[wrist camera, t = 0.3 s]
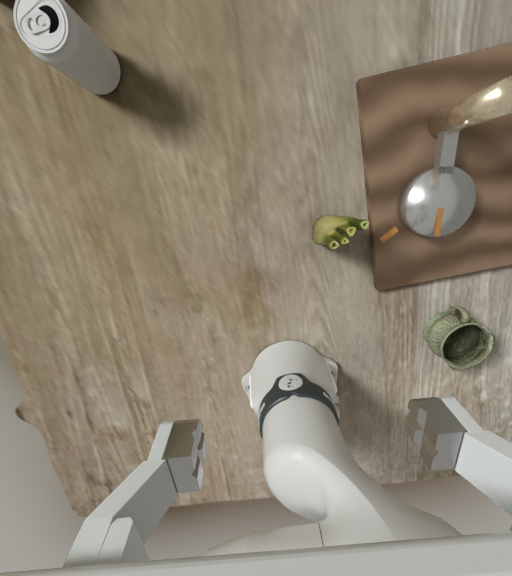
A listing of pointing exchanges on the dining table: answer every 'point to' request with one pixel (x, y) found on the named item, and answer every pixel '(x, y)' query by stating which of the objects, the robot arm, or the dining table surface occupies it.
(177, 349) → the dining table surface
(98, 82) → the beverage can
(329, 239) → the fennel bulb
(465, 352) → the vessel
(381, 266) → the base board
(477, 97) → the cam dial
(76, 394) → the dining table surface
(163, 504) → the robot arm
